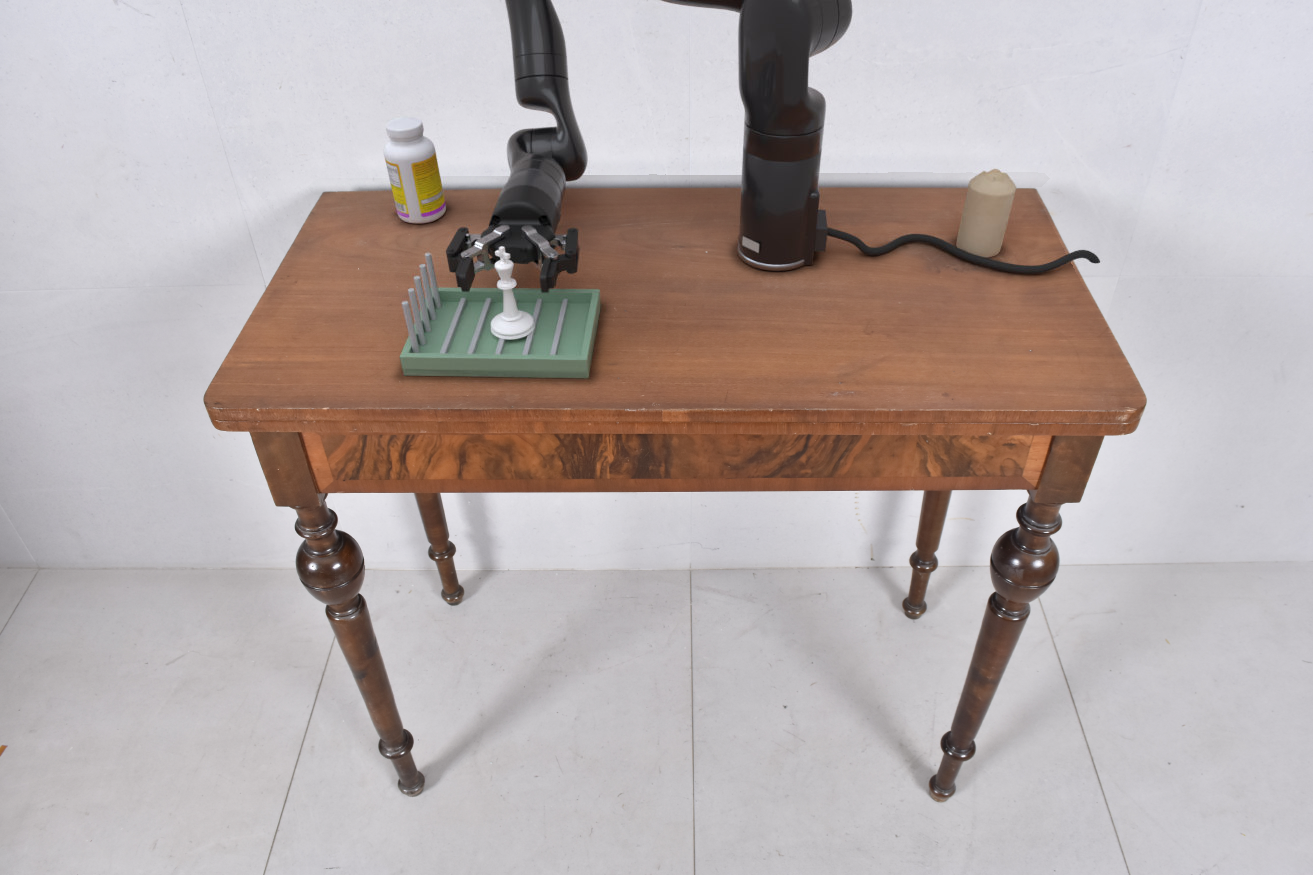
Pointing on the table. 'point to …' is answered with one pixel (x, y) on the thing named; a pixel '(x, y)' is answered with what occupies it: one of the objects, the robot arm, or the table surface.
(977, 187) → the candle
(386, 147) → the supplement bottle
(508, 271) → the chess piece
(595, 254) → the table surface
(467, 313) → the dish rack
